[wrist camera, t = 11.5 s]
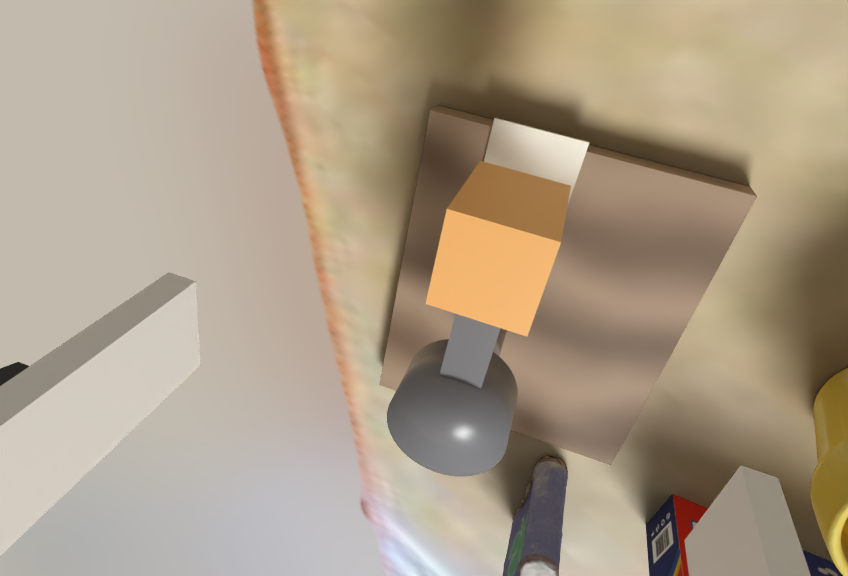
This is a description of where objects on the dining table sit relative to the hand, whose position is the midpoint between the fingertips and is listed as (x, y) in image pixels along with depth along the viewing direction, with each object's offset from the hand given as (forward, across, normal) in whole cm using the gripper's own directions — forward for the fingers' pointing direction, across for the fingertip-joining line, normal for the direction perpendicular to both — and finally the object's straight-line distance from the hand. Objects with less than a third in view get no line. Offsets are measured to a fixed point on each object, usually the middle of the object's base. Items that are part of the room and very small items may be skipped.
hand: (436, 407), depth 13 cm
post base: (+21, -2, +8) cm, 23 cm away
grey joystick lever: (+13, 0, +6) cm, 15 cm away
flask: (+21, -8, +26) cm, 34 cm away
